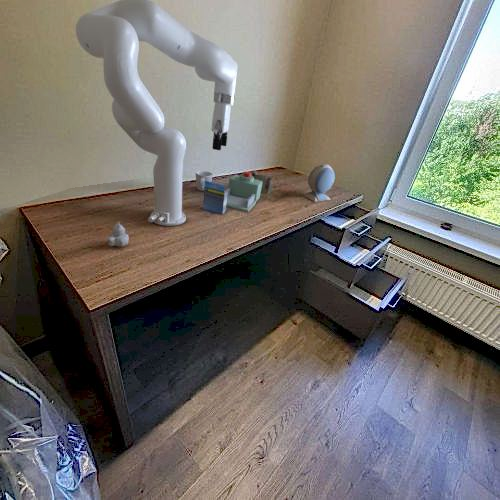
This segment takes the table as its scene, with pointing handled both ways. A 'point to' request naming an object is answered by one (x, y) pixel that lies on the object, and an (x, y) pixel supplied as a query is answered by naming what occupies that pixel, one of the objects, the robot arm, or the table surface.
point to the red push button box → (245, 186)
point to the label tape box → (214, 197)
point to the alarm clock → (320, 182)
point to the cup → (202, 179)
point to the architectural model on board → (266, 182)
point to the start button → (247, 174)
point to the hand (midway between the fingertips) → (219, 147)
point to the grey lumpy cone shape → (118, 236)
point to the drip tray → (239, 201)
